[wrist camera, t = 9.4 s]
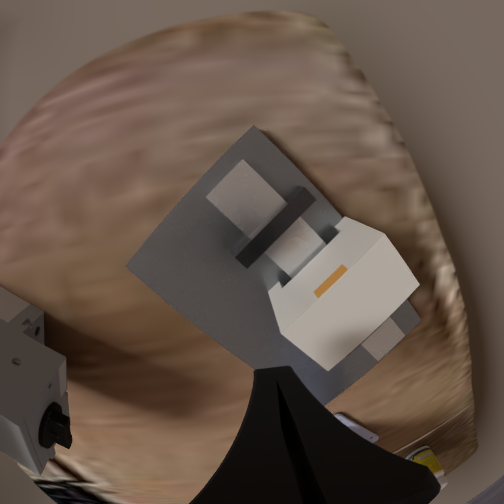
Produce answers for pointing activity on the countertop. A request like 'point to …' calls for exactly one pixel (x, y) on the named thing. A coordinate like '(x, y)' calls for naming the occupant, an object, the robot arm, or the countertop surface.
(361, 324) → the block
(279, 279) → the rail board
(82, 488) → the countertop surface
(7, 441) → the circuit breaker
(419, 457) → the supplement bottle
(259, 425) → the robot arm
